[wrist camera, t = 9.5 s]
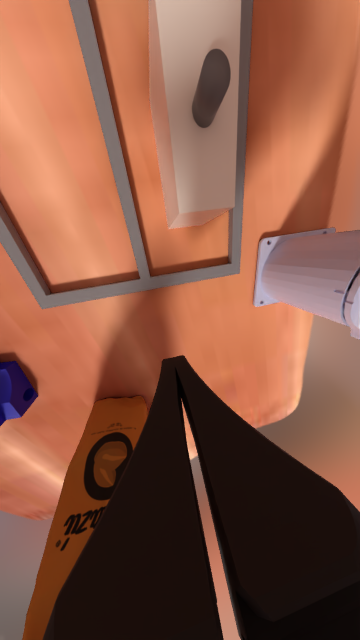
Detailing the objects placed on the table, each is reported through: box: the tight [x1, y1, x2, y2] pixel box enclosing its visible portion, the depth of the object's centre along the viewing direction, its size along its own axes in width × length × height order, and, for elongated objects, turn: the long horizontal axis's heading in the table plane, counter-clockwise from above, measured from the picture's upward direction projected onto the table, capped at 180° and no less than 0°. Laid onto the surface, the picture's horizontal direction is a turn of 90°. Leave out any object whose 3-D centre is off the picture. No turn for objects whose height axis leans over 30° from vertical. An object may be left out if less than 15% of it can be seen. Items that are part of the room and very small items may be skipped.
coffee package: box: [22, 396, 148, 640], centre depth 14 cm, size 10×12×22 cm
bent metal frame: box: [0, 0, 253, 309], centre depth 12 cm, size 21×17×1 cm
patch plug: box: [149, 0, 241, 229], centre depth 9 cm, size 4×8×8 cm, turn 7°
